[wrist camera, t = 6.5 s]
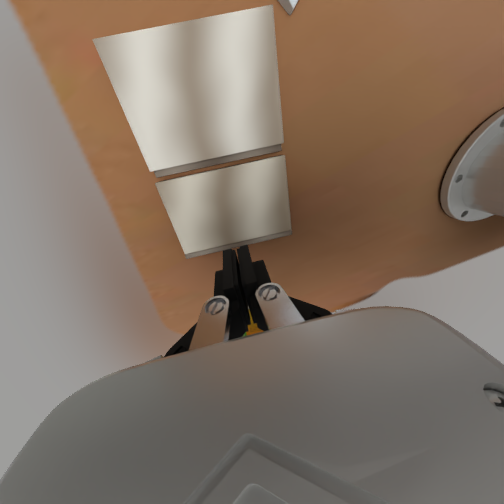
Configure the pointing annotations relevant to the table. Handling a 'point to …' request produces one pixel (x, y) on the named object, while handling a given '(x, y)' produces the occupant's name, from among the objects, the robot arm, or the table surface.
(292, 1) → the external hard drive
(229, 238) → the plank
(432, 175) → the table surface
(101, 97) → the table surface
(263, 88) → the laid board
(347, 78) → the table surface
